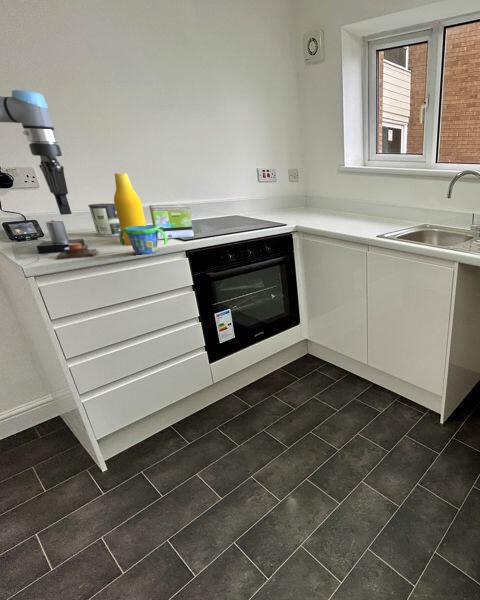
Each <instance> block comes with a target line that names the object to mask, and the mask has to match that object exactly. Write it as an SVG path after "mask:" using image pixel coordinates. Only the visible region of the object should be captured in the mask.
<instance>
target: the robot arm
mask: <svg viewBox="0 0 480 600" xmlns="http://www.w3.org/2000/svg"><path fill="white" fill-rule="evenodd" d="M0 123H16V124H21V126H22V128H23V131H22V134H23V135H25V137H26V140H27V142H30V143H29V144H28V147H29V150H30V153H31V154H32V156H36V157H37V156H39V158H40V164H39V165H38V167H39V169H40V171H41V173H42V175H43V177H44V180H45V182H46V184H47V186H48V190H49V192H50V193H51V194H53V196H54V198H55V202H56V205H57V208H58V212H59V214H60V215H62V216H65V215H72V214H73V213H72V210H71V206H70V204H69V200H68V198H67V195H69V191H68V187H67V181H66V178H65V177H66V176H65V171H64V169H65V168H64V166H63V165H61V164H60V162H59V160H58V159H57V157H62V156H63V153H62V151H61V150H62V149H61V147H60V145H59V144H58V143H59V139H58V136H57V133H56V130H55V128H54V125H53V121H52V117H51V113H50V109H49V107H48V105H47V101H46V99H45V96H44V95H43V94H42V93H40V92H37V91H32V90H25V89H12V90H11V96H0Z"/></svg>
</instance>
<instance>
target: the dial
mask: <svg viewBox="0 0 480 600" xmlns="http://www.w3.org/2000/svg"><path fill="white" fill-rule="evenodd" d="M45 226H46V228H47V231H48V234H49V237H50V241H52V243H66V242H69V240H70V238H69V236H68V233H67V230H66V226H65V223H64V221H63V220H53V219H51V220H48V221H45Z"/></svg>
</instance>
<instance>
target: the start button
mask: <svg viewBox="0 0 480 600" xmlns="http://www.w3.org/2000/svg"><path fill="white" fill-rule="evenodd" d="M69 248H70V249H78V248H82V245H81V243H73V244H69Z"/></svg>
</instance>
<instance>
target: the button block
mask: <svg viewBox="0 0 480 600" xmlns="http://www.w3.org/2000/svg"><path fill="white" fill-rule="evenodd" d="M97 253H98V250H97V249H96V248H92V249H91V248H88V246H87V245H85V246H82V248H78V249H70V248H69V247H67V248H64V251H63V252H59V254H57V255H56V258H57V260H64V259H65V260H66V259H78V258H91V257H95V255H96V254H97Z"/></svg>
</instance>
